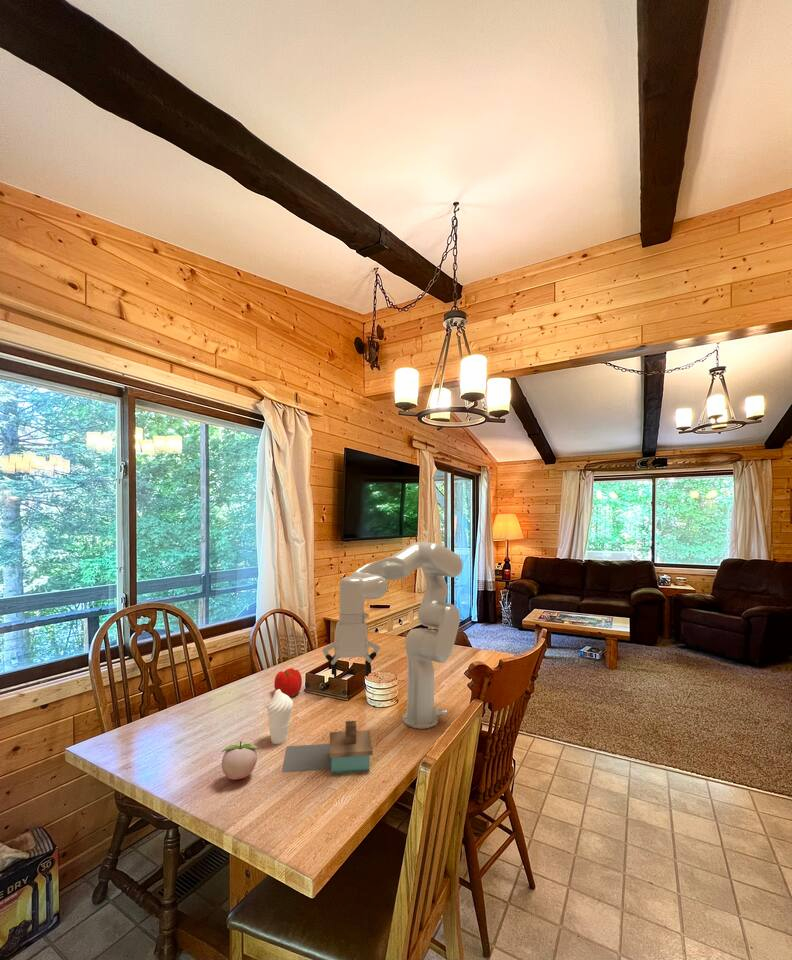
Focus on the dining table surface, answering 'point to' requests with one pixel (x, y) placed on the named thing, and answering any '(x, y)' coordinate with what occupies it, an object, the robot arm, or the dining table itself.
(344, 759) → the open box
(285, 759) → the mat
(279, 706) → the soft serve ice cream cone
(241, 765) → the decorative fruit
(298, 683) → the tomato
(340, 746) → the lid
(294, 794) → the dining table surface
